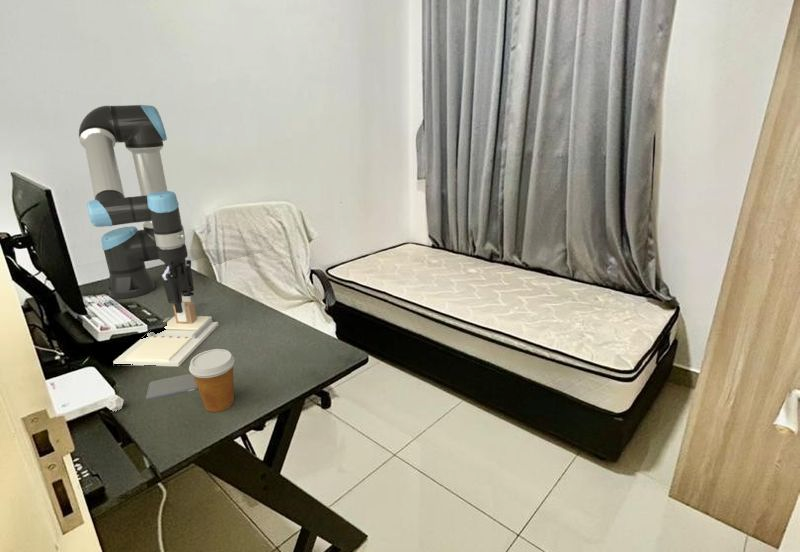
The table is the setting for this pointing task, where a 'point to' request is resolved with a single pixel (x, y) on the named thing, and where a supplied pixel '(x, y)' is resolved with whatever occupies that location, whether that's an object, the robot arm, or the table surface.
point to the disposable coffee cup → (214, 378)
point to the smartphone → (171, 386)
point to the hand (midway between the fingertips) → (186, 318)
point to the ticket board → (166, 346)
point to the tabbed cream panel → (193, 320)
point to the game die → (114, 403)
